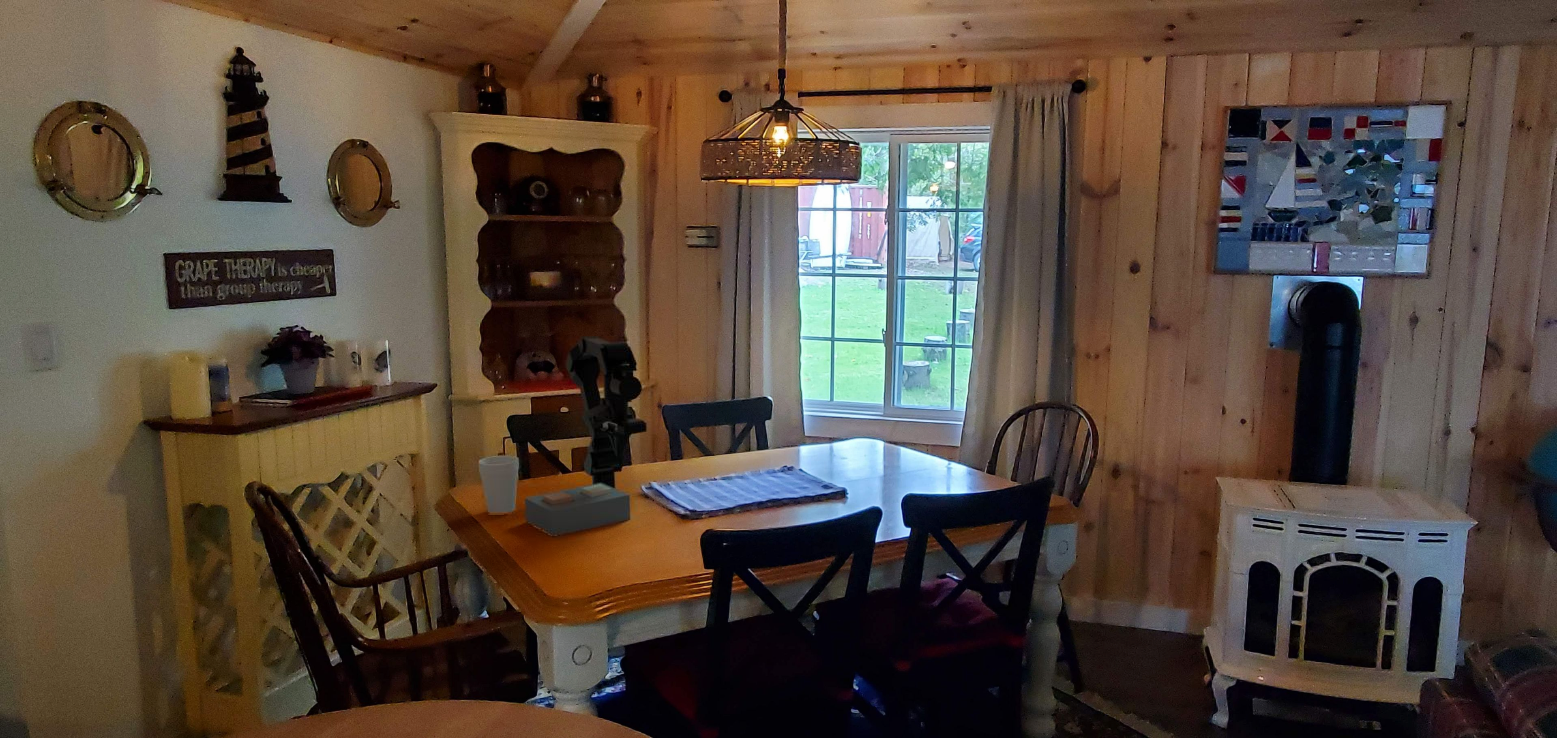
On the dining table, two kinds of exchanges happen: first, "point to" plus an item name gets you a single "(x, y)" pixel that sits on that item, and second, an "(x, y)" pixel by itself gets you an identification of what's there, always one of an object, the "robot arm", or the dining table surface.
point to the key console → (578, 511)
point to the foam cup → (499, 482)
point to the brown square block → (557, 498)
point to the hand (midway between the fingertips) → (618, 456)
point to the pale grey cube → (596, 490)
